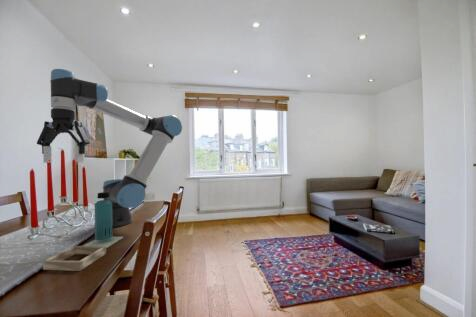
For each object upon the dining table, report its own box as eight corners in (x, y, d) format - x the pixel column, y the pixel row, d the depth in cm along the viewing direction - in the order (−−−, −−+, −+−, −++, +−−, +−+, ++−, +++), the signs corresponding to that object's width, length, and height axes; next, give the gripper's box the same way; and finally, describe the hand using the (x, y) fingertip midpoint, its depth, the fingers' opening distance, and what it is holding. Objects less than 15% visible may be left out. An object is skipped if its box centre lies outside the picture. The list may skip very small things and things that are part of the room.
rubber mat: (100, 237, 95) (100, 236, 95) (123, 237, 94) (123, 236, 94) (81, 247, 84) (81, 246, 84) (106, 248, 83) (106, 247, 83)
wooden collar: (74, 252, 79) (74, 245, 79) (106, 253, 79) (106, 246, 79) (43, 269, 67) (43, 261, 67) (80, 270, 67) (80, 262, 67)
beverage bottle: (104, 245, 85) (103, 193, 85) (90, 243, 87) (89, 193, 87) (116, 239, 92) (116, 191, 92) (103, 237, 93) (103, 190, 93)
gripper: (24, 108, 85) (24, 162, 85) (85, 106, 83) (86, 162, 83) (42, 112, 92) (43, 162, 92) (99, 111, 91) (99, 162, 91)
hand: (63, 162), depth 88 cm, fingers open, 13 cm apart
